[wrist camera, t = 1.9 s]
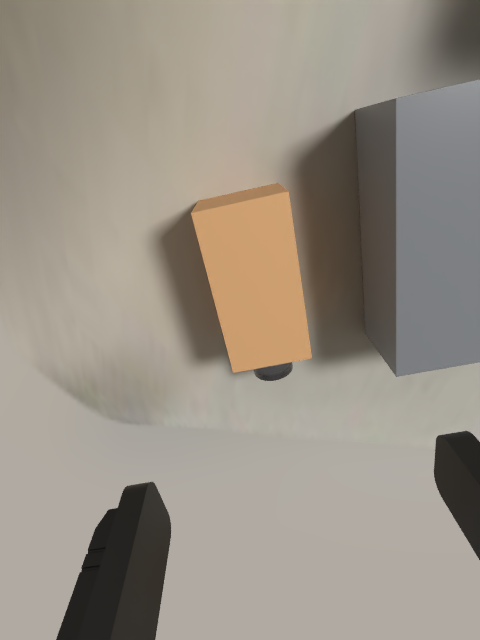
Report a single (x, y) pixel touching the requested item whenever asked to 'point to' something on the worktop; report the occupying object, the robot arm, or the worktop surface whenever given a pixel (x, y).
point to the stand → (421, 227)
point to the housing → (255, 278)
